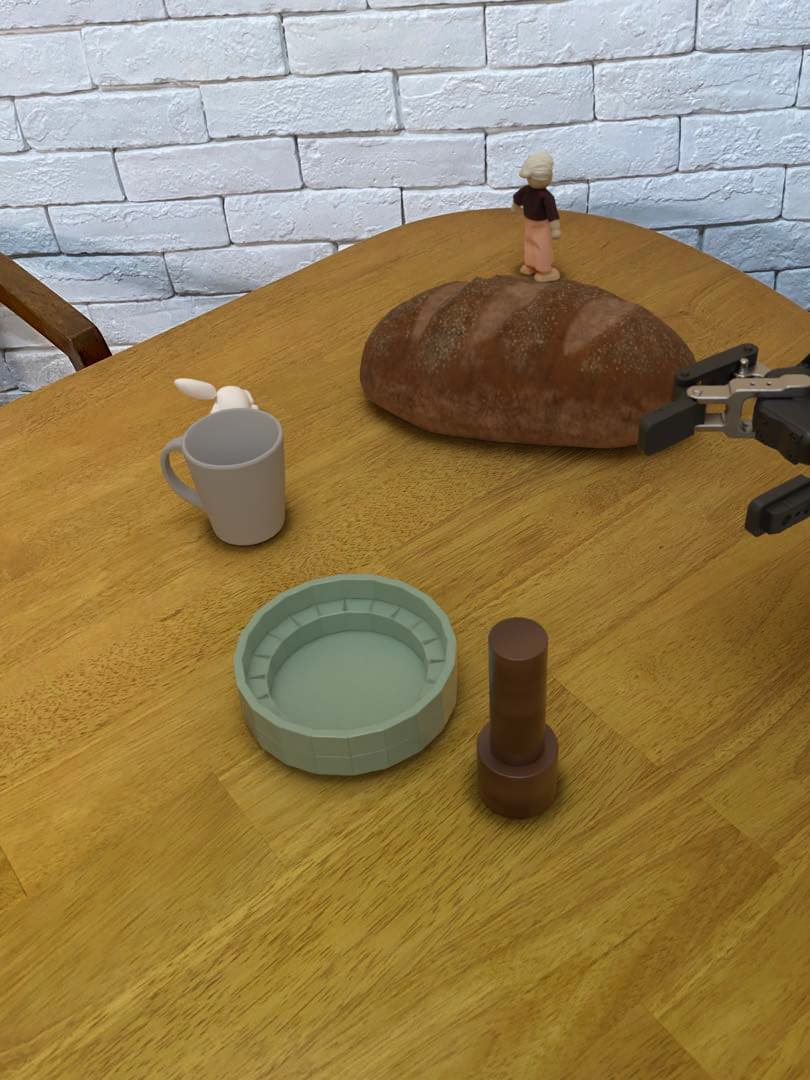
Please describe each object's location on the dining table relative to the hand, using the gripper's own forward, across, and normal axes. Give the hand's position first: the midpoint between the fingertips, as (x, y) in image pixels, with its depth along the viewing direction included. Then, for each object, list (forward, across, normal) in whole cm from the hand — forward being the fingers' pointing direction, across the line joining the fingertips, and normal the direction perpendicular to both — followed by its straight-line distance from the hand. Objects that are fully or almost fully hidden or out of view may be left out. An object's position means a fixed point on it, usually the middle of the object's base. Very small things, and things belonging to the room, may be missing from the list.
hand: (694, 478), depth 61 cm
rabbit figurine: (+11, -45, +19) cm, 50 cm away
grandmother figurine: (-28, -51, +20) cm, 61 cm away
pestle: (+12, 0, +18) cm, 22 cm away
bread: (-12, -32, +19) cm, 40 cm away
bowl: (+17, -12, +18) cm, 27 cm away
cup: (+15, -33, +19) cm, 41 cm away
